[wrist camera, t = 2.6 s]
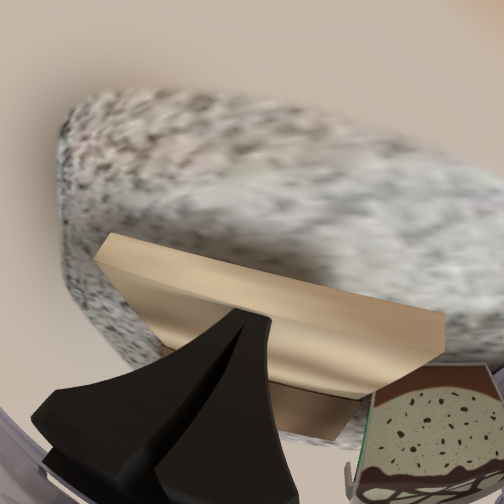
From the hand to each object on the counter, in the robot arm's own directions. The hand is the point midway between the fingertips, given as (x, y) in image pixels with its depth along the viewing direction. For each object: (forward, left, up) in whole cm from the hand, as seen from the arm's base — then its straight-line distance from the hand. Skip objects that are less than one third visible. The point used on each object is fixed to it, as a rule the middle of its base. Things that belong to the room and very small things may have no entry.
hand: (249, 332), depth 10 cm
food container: (-15, 0, -7) cm, 17 cm away
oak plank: (-2, +2, -4) cm, 5 cm away
